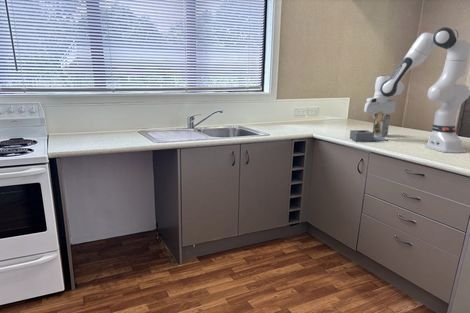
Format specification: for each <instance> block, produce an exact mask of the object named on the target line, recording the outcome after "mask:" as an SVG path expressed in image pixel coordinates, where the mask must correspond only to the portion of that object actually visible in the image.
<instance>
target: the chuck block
mask: <svg viewBox="0 0 470 313" xmlns="http://www.w3.org/2000/svg"><path fill="white" fill-rule="evenodd" d="M374 137H375V136H374V133H373V131H369V130H367V129H366V130H365V129H364V130H361V129H359V130H357V129H355V130H353V129H350V131H349V139H350V140H351V139H352V140H351V141H353V140H354V141H353V142H355V143H374V142H375V141H374Z"/></svg>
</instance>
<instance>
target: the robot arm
mask: <svg viewBox="0 0 470 313" xmlns="http://www.w3.org/2000/svg"><path fill="white" fill-rule="evenodd" d="M435 47H439V48H443V49H445V50H447V53H446V58H445V60H444V61H445V62H444V66H443V69H442V73H441V75H440V76H439V78H438V80H437V81H436V82H435V83H434V84H433V85H432V86H430V87H429V89H428V90H427V98H428V100H429V101H430V102H432V103H433V102H434V103H442V105H441V107H440V108H438V109H437V110H436V111H435V113H434V119H433V124H432V127H431V133H430V134H429V135H428V136H429V137H428V141H427V144H426V145H425V147H424V148H426V149H431V150H434V151H438V152H442V153H449V154H451V153H452V154H457V153H458V154H461V153H462V154H463V153H466V150H465V149H464V148H462V145H463V144H462V143H463V141H462V140H461V139H460V137H459V136H458V134H457V133H456V132H457V128H456V120H457V114H458V111H459V109H460V108H461V106H462V104H463V103H464V102H465V101H466V100H467V99H468V98H469V97H470V87H469V86H467V85H465V84H462V83H457V81H458V80H459V79H460V78H462V77H463V76H464V75H465V74H466V69H467V66H468V63H469V57H470V42H469V41H467V40H466V39H464V40H463V39H459V33H458V31H457V30H456V29H455V28H453V27H450V26H445V27H441V28H439V29H437V30H436V31H435V32H434V33H431V32H423V33H421V34H420V35H419V36H418V37H417V38H416V40H415V41H414V42H413V44H412V45H411V46H410V48H409V50H408V51H407V53H406V55H405V56H404V58H402V61H401V62H400V63H399V64H398V65H397V67H396V68H395V70H394V71H393V73H391V75H388V74H384V75H379V76H377V77H376V80H375V83H374V94H373V96H371V97H369V98H366V100H365V101H366V102H365V104H364V109H363V112H364V113H365V114H371V116H372V118H373V119H372V120H373V121H374V120H376V117H375V114H376V113H378V112H379V111H382V112H383V114H384V115H383V116H382V119H381V120H384V117H385V116H386V115H387V114H394V113H395V111H396V109H395V108H396V100H395V99H389V97H392V96H398V95H401V94H402V93H403V92H404V91H405V84H404V83H403V81H401V80H402V79H403V78H404V76H405V75H406V74H407V73H408V72H409V71H410V70H411V69H414V68H415V67H418V66H420V65H421V64H422V63H424V61H425V60H426V59H427V58H428V56H429V54H430V53H431V52H432V50H433V49H434V48H435Z"/></svg>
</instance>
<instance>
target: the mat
mask: <svg viewBox="0 0 470 313" xmlns="http://www.w3.org/2000/svg"><path fill="white" fill-rule="evenodd" d="M373 142H388V139H386V138H385V137H378V136H374V141H373Z"/></svg>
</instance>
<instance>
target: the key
mask: <svg viewBox="0 0 470 313" xmlns="http://www.w3.org/2000/svg"><path fill="white" fill-rule="evenodd" d="M375 114H376V120H375V123H374V122H373V125H374V128H377V129H379V128H380V124H381V119H382V115H383V112H382V111H379V112H378V113H375Z"/></svg>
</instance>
